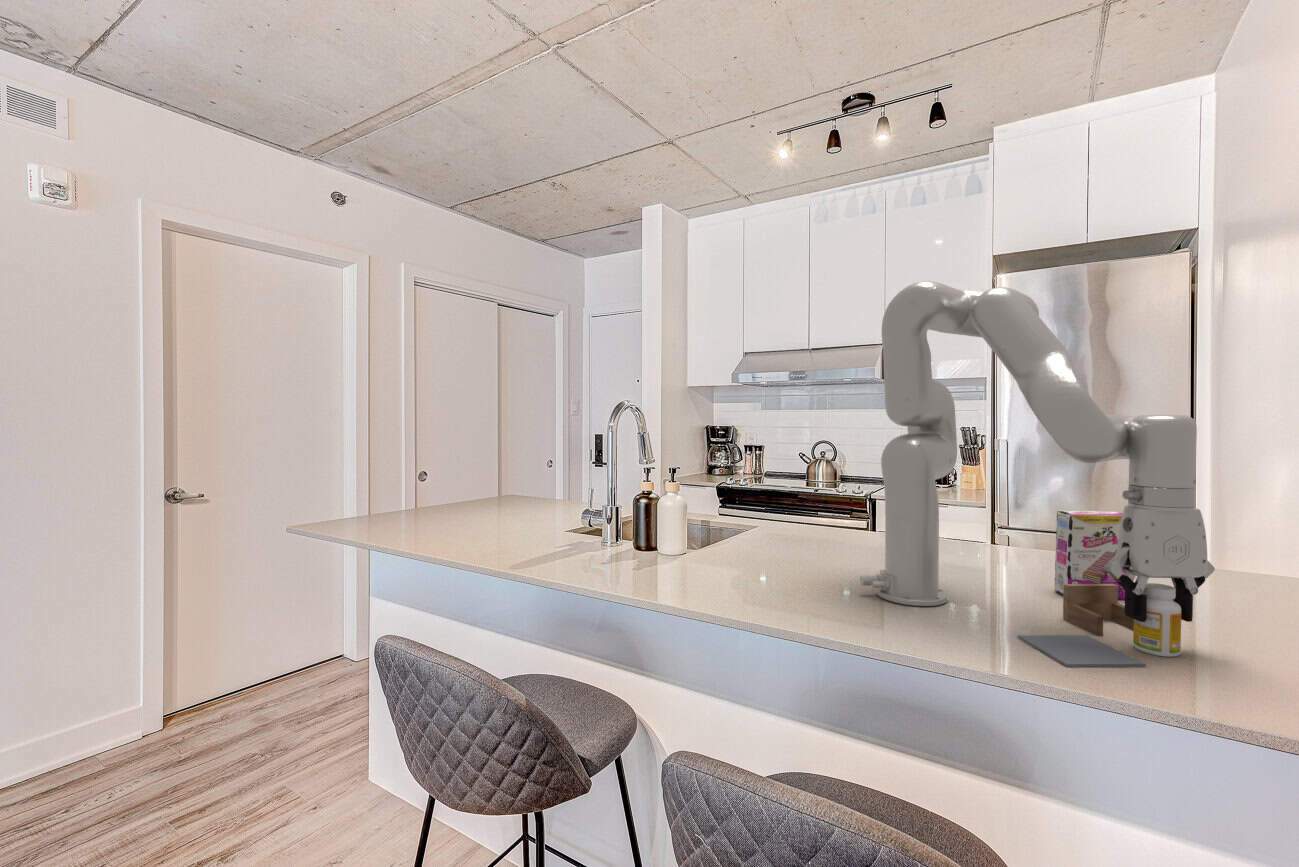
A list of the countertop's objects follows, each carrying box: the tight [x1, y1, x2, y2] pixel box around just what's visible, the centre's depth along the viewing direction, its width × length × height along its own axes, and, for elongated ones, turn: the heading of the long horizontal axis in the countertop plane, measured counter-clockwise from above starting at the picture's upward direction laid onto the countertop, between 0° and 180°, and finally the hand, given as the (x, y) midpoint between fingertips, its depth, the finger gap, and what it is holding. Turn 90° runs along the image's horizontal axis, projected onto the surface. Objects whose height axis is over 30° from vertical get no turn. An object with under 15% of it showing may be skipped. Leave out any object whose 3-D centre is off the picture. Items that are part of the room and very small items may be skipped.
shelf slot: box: [1062, 584, 1134, 636], centre depth 99 cm, size 9×8×6 cm
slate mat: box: [1017, 634, 1146, 668], centre depth 89 cm, size 11×11×1 cm
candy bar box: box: [1054, 509, 1126, 601], centre depth 116 cm, size 11×5×16 cm, turn 84°
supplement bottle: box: [1132, 582, 1182, 658], centre depth 89 cm, size 5×5×10 cm
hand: (1158, 617), depth 89 cm, fingers open, 6 cm apart
